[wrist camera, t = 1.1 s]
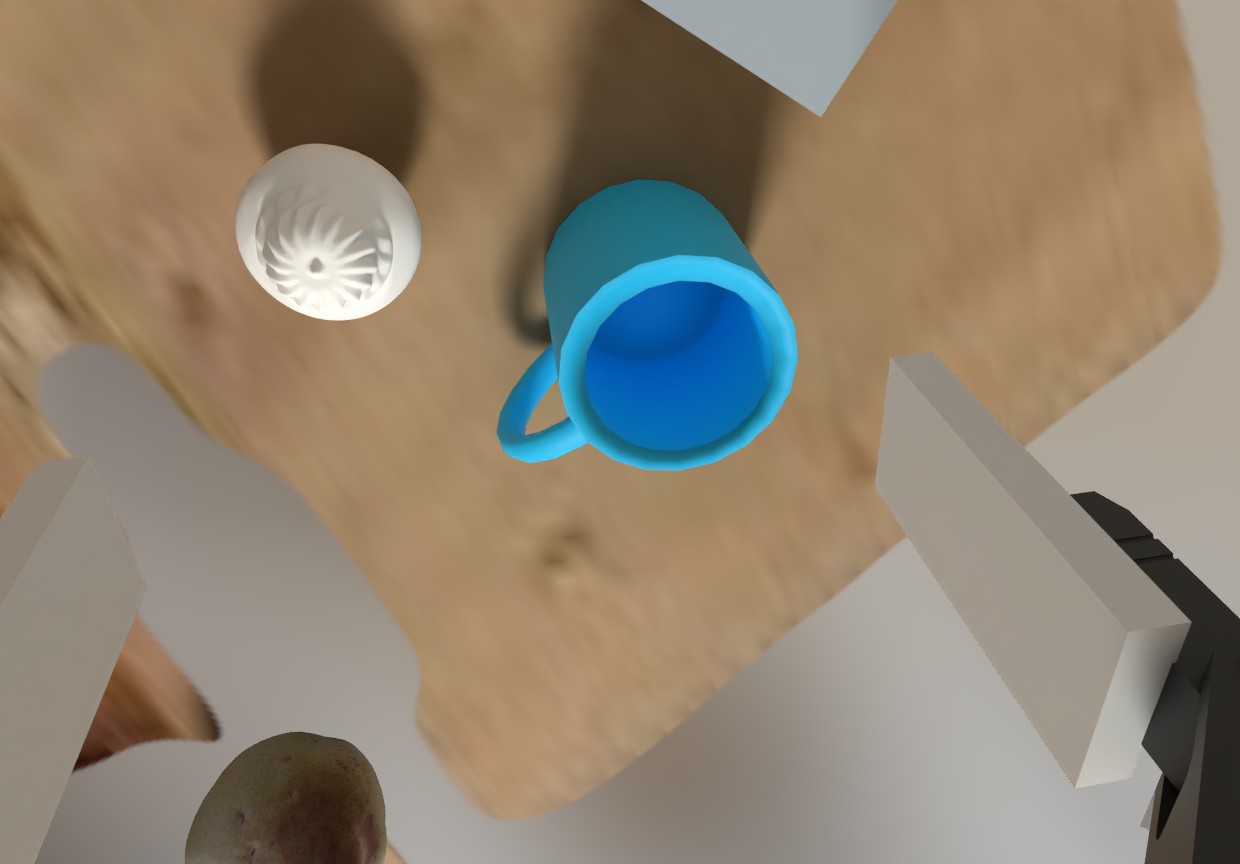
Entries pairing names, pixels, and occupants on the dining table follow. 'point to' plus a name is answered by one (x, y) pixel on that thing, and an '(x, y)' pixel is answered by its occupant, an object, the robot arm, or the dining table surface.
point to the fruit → (292, 807)
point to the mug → (654, 335)
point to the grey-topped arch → (786, 39)
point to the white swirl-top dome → (328, 232)
